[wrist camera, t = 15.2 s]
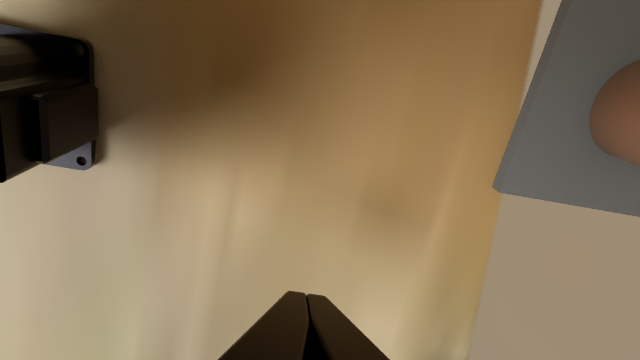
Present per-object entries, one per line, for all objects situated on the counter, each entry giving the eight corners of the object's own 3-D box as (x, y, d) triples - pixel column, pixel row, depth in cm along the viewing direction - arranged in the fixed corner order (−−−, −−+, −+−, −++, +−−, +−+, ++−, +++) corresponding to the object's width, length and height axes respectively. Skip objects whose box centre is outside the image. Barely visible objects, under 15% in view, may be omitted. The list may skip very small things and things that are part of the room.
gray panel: (492, 186, 22) (498, 192, 21) (574, -34, 18) (586, -37, 17) (671, 218, 23) (684, 224, 22) (786, 15, 19) (806, 14, 18)
